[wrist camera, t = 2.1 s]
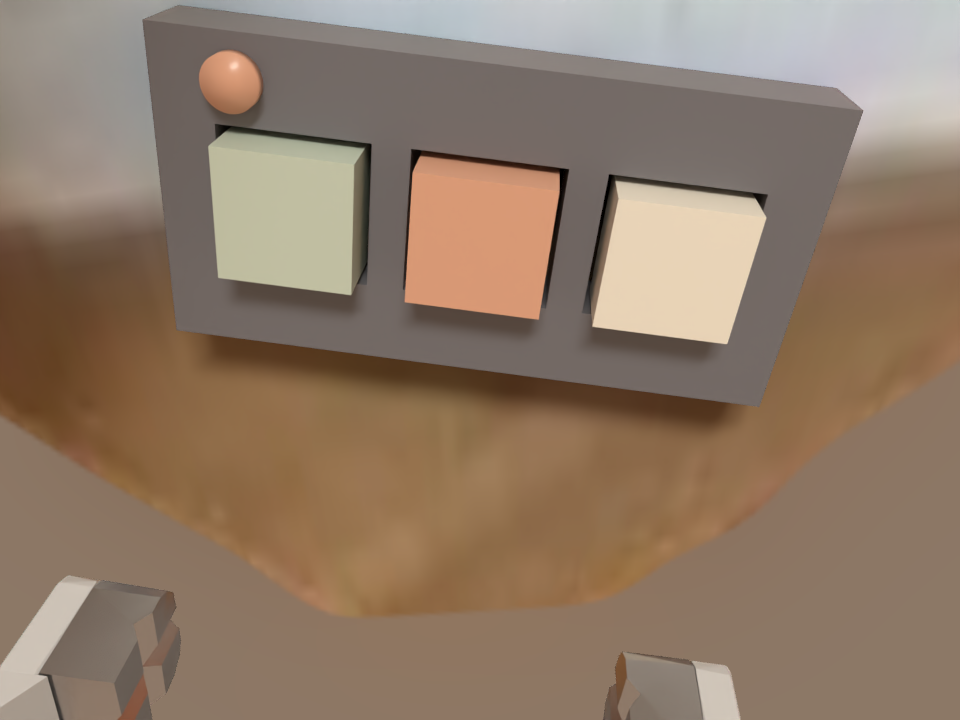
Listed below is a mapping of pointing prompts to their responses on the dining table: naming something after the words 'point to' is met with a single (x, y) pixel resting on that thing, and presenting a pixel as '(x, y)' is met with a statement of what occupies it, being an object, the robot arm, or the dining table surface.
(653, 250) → the cream button
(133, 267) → the dining table surface
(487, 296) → the terracotta button
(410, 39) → the button panel
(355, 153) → the sage button
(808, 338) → the dining table surface
